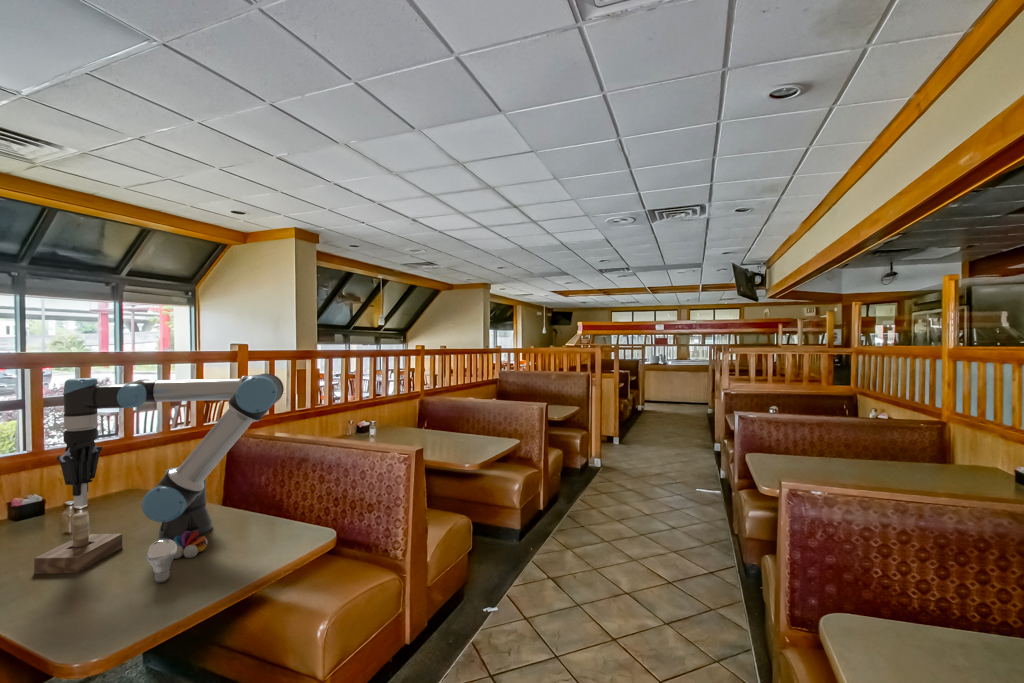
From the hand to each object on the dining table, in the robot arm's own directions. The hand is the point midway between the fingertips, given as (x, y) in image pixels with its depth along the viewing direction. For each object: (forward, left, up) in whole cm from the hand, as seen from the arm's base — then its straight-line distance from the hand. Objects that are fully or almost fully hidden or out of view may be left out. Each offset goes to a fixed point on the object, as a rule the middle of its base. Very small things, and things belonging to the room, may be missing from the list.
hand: (80, 504), depth 139 cm
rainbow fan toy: (-30, -3, -17) cm, 35 cm away
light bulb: (-34, +14, -17) cm, 41 cm away
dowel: (0, 0, -17) cm, 17 cm away
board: (0, 0, -17) cm, 17 cm away
